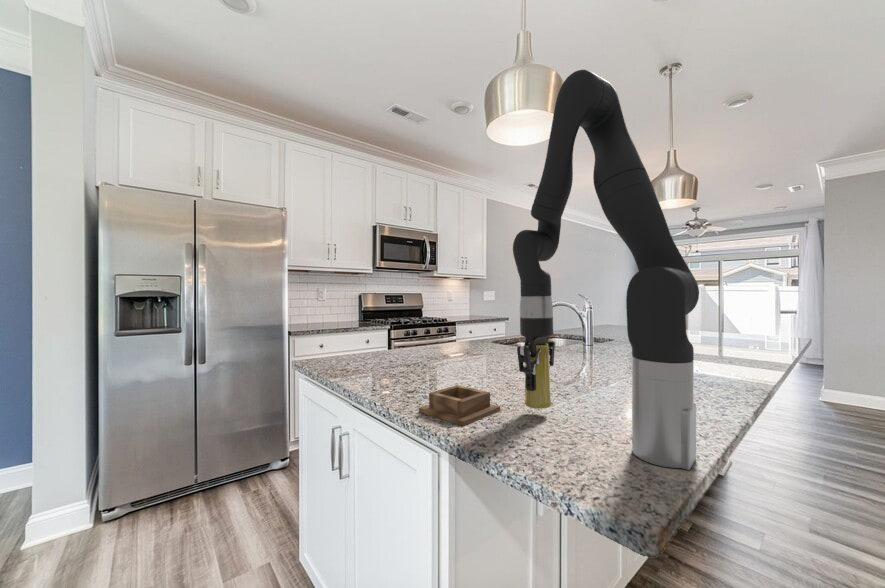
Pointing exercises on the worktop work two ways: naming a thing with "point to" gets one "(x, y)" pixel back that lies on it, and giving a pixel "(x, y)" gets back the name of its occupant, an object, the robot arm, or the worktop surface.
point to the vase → (540, 382)
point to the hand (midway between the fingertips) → (537, 387)
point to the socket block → (459, 405)
